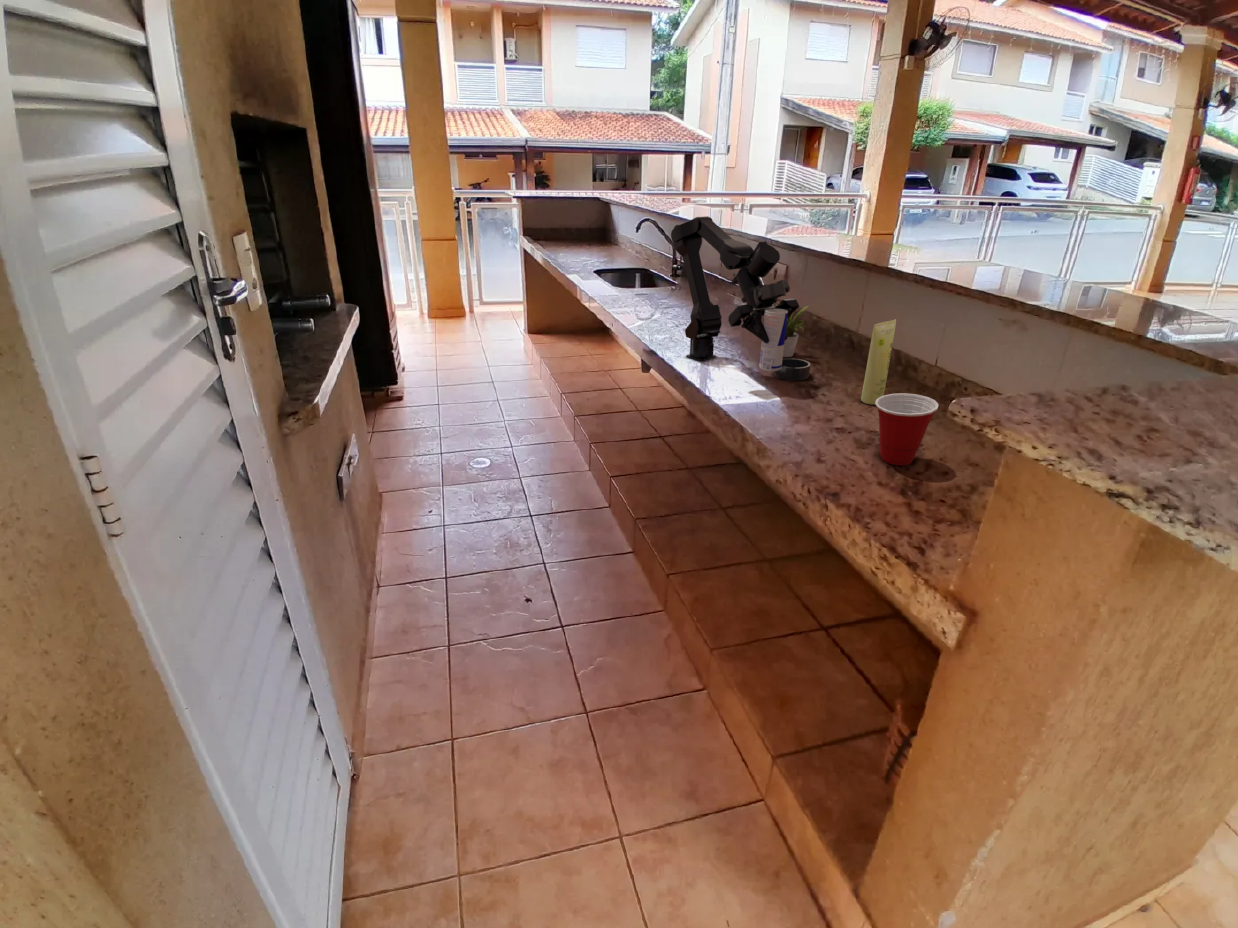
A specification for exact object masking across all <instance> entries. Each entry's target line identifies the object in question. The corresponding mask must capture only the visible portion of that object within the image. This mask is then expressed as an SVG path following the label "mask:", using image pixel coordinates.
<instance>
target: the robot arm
mask: <svg viewBox="0 0 1238 928" xmlns="http://www.w3.org/2000/svg"><path fill="white" fill-rule="evenodd" d="M670 239H671V241H672V244H673V247H674V250H675V251H676V252H677V254H679V255H680V256H681V258H682V261H683V265H684V270H685V274H686V280H687V283H688V288H689V292H690V296H691V300H692V309H691V312H690V315H689V316H690V317H689V318H690V323H688V325H687V327H685V329H684V333H685V338H687V339H690V340H689V354H686V355H685V357H686V358H688V359H692V360H696V361H701V362H704V361H707V360H710V359H713V358H716V356H717V355H716V354H714V352H715V351H714V349H715V348H714V347H715V344H714V343H715V342H714V338H717V337H719V335H720V332H721V328H722V323H723V322H722V321H723V320H722V319H723V317H722V315H721V311H720V306H719V304H713V302H712V301H711V298H710V294H709V290H708V285H707V281H706V276H705V272H704V268H703V263H702V259H701V255H700V251H701V248H702V245H703V239H704V240H705V242H707V243H708V245H710V246H711V247H712V248H713V249H714V250H715V251H716V252H717V253H718V255H719V261H720V262H721V264H722V265H723V266H724V268H725V269H726V270H728V271H732V270H738V271H737V272H736V273H733V276H732V279H731V285H733V286H734V285H738V287H739V290H740V291H741V294H742V296H743V297H742V298H741V302H742V304H739V305H737V306H736V307H735V308H734V309H733V310H732V312H730V313H729V315H728V318H727V319H728V323H729V325H730V327H731V328H735V327H739V326H740V328H742V329H745V330H746V331H748V332H750V333H751V334H753V335H754V336H755V337H757V338H758V339H759V340H760V341H761V342H762V341H763V342H765V343H766V344H767V343H768V342H769V338H768V335H767V333H766V331H765V328H764V326H763V324H764V323H763V321H762V320H763V319H762V318H763V317H764V314H765V310H766V309H772V308H776V309H784V310H787V311H788V313H787V314H788V316H787V318H788V317H789V316H790V315H791V314H792V313H793V314H794V313H795V312H796V311H797V310H798V309H799V308H800V304H799V302H798V299H796V298H792V297H791V298H786V299H785V298H784V299H782V300H780V302H778V298H781V297H786V296H787V294H788V293H789V292H790V290H791V288H790V284H789V282H788V280H787V279H780V280H778V281H776V282H773V283H768V284H764V281H763V279H762V278H765V277H766V276H767V275H768V274H769V273H770V272H771V271H772V270H773V268H774V267H775V266H776V265H777V264H778V263H779V262H780V260H781V255H780V254H781V253H780V252H779V250H777V249H776V248H775V247H774V246H772V245H770V244H768V242H767V240H765V241H764V240H763V241H759V242H758V243H757V245H756V246H755V248H754V249H753V247H752V245H749V244H747V243H746V242H744V241H739V240H736V239H734V238H732V237H731V236H730V235H729V234H728V233H727V232H726V231H724V230H723V228H721V227H720V226H719V225H718V224H716V223H715V222H714V221H713V219H712V217H710V216H696V217H693V218H692V219H690V220H688V221H686V222H683V223H681V224H675V225H674V227H673V229H671V232H670ZM745 303H746V304H745ZM776 303H777V305H776V306H775V305H774V304H776ZM787 338H788V336H787V325H786V334H785V340H787Z"/></svg>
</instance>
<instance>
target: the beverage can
mask: <svg viewBox="0 0 1238 928" xmlns="http://www.w3.org/2000/svg"><path fill="white" fill-rule="evenodd" d="M787 313H788V311H787V310H784V309H776V308H772V309H766V310H765V314H764V316H763V323H762V324H763V326H764V328H765V331H766V333H767V335H768V338H769V342H768V343H767V344H766V343H765V342H763V341H762V340H761V343H760V345H761V346H760V354H759V365H758V367H759V368H760V369H761V370H763V371H766V372H774V371H778V370H780V369H781V368H782V359H784V357H783V351H784V342H785V334H786V325H787V316H788V314H787Z"/></svg>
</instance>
